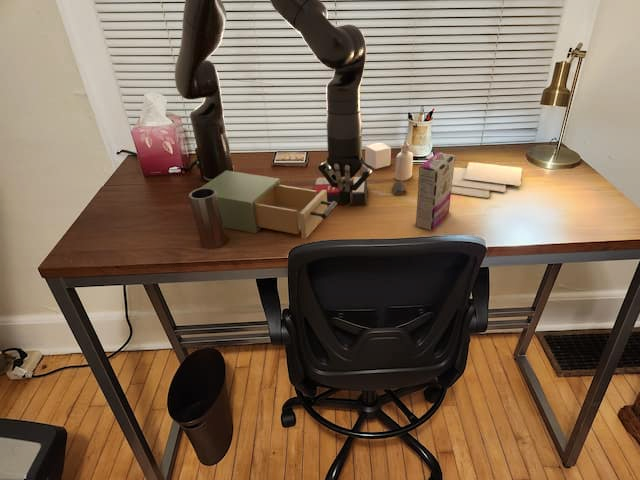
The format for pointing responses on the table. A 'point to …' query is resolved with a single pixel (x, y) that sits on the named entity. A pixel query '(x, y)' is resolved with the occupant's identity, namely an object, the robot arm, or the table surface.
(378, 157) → the cream white cube
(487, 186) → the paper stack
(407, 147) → the eye dropper bottle
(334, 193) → the red and black box
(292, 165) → the table surface
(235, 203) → the cabinet
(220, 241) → the metal cup
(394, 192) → the block
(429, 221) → the candy bar box
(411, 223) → the table surface
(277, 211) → the drawer
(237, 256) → the table surface
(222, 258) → the table surface
